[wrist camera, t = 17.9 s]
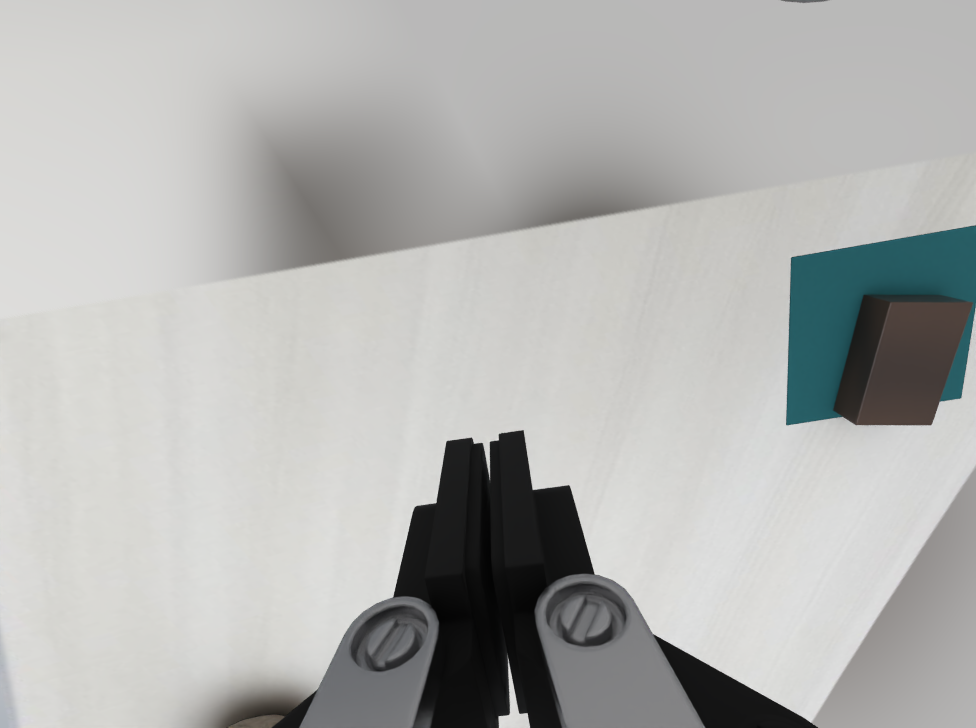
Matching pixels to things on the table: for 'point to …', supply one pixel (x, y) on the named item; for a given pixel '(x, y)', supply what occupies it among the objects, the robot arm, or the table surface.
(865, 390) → the walnut block
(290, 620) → the table surface
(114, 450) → the table surface
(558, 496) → the robot arm
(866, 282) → the mat
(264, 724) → the bowl
